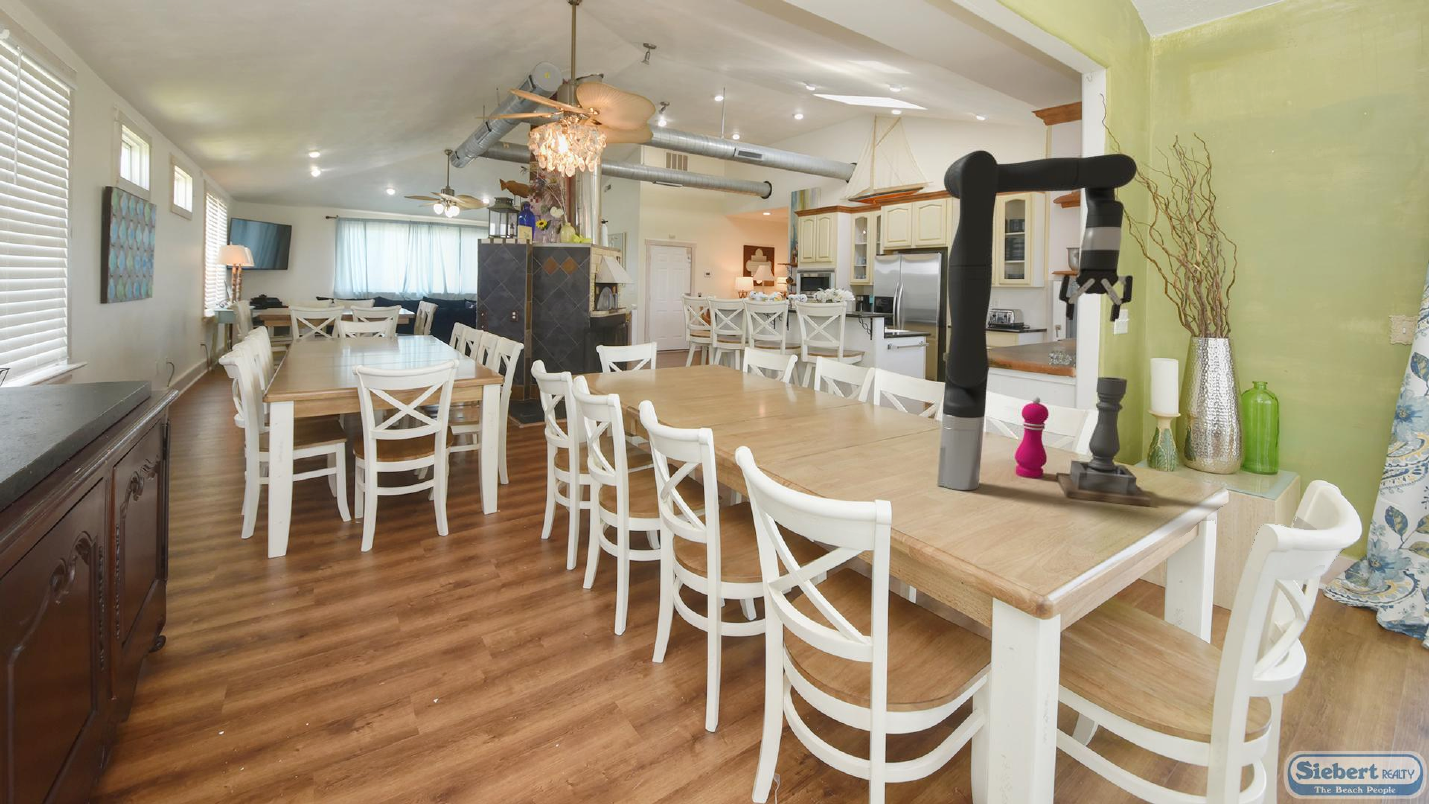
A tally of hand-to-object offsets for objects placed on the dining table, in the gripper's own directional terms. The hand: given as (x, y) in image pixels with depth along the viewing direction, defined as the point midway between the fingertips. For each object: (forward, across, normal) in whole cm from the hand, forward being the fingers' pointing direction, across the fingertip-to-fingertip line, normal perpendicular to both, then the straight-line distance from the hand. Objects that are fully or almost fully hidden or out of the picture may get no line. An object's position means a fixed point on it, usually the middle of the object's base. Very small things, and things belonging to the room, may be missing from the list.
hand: (1091, 320), depth 146 cm
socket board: (+39, +5, -5) cm, 40 cm away
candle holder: (+38, +5, -5) cm, 38 cm away
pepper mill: (+40, -9, +4) cm, 41 cm away
